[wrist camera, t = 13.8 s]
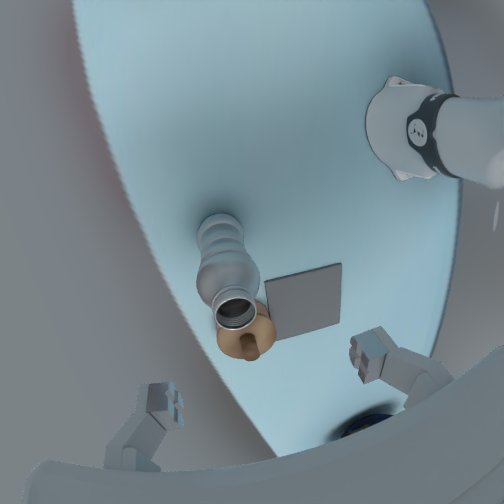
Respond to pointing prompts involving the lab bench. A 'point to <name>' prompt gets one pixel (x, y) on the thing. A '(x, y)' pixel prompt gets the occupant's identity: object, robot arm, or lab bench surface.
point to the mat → (305, 300)
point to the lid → (248, 339)
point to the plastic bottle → (227, 272)
